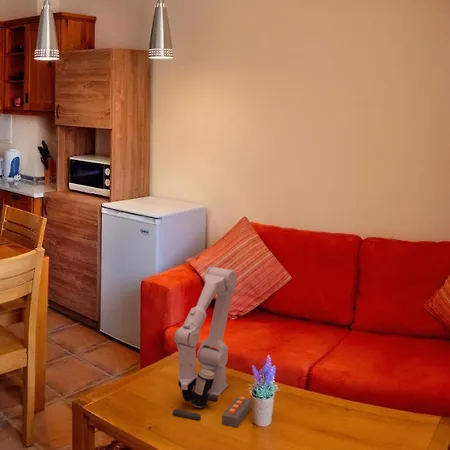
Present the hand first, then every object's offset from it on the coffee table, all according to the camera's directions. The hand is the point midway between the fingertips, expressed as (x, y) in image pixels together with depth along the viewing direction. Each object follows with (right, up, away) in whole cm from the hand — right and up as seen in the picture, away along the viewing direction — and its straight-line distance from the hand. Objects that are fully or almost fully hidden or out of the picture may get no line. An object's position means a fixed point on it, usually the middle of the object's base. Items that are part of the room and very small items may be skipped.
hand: (187, 400), depth 207 cm
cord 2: (+6, -1, +6) cm, 8 cm away
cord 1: (0, -4, -7) cm, 8 cm away
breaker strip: (+17, -3, -6) cm, 18 cm away
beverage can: (+4, -2, 0) cm, 4 cm away
